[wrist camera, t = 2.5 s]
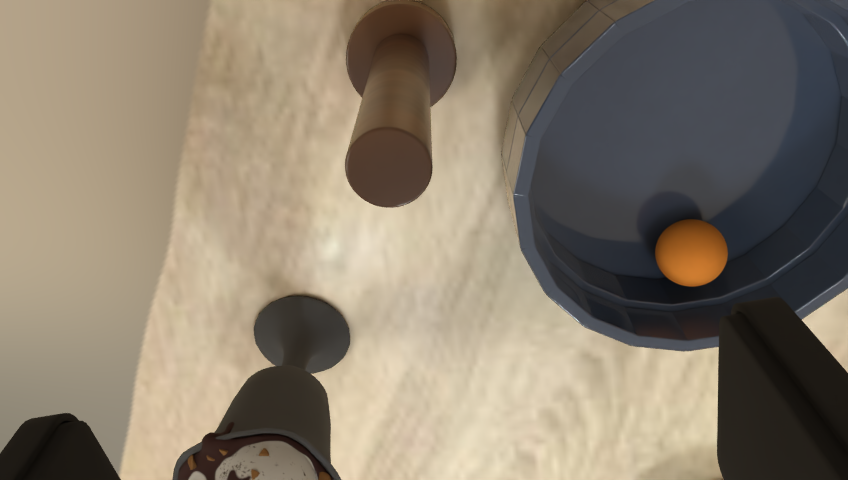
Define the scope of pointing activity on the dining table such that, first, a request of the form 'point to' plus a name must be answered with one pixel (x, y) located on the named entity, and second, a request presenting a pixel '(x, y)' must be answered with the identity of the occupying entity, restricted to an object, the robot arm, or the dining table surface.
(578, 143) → the bowl
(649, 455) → the dining table surface
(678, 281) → the orange ball
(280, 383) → the sundae
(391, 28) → the brown flanged wooden cylinder
